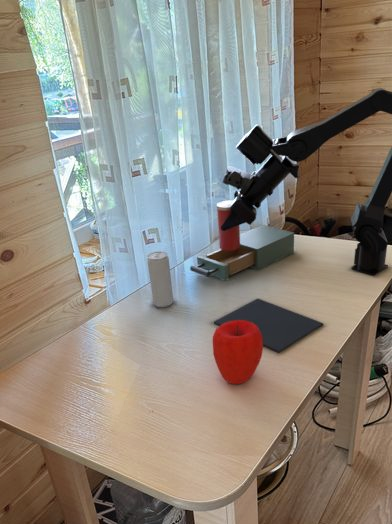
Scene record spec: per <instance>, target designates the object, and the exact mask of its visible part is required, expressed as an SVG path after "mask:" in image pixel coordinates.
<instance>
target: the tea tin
mask: <svg viewBox="0 0 392 524" xmlns="http://www.w3.org/2000/svg"><path fill="white" fill-rule="evenodd" d="M231 202H233V200H223V201H219V202H217V203H216V211H217V213H216V214H217V229H218V242H219V243H218V245H219V250H220V249H221V250H225V251H232V250H236V249H238V248H240V234H241V232H240V231H241V230H240V229H241V228H240V225H238V226H235V227H233V228H230V229H228V230H225V231H223V230H222V229H221V226H222V225H223V223H224V221H225V220H226V218H227V217H228V215H229V214H230V212H231V207H230V204H231Z"/></svg>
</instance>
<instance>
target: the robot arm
mask: <svg viewBox="0 0 392 524" xmlns="http://www.w3.org/2000/svg"><path fill="white" fill-rule="evenodd" d="M379 112H382V113H386V114H389V115H392V91H389V90H386V88H383V87H377V88H375V89H373V90H372V91H371V92H369V93H368V94H367V95H365V96H363V97H361V98H359V99H358V100H356V101H354V102H353V103H351V104H349V105H348V106H346V107H344V108H343V109H341V110H338V111H337V112H336V113H333V114H332V115H330V116H328V117H327V118H325V119H323V120H322V121H319V122H316V123H313V124H309V125H306V126H303V127H301V128H298V129H295V130H292V131H291V132H290V133H289V134H288V135H287V136H283V137H278V138H274V139H272V138H271V137H270V136H269V135H268V134H267V133H266V132H265V131H264V130H263V128H262V127H261V126H260V125H259V124H255V125H254V126H253V128H251V129H250V130H249V131H248V132H247V133H246V134H244V136H243V137H242V138H241V139H240V141H239V142H238V144H237V145H236V146H235V149H236V150H237V151H238V152H239V153H240V154H241V155H243V157H245V159H246V160H248V162H249V163H251V164H252V165H261V166H260V168H259V169H258V170H255V171H254V170H253V172H252V173H251V174H250V173H248V172H247V171H244V170H242V169H240V168H238V167H235V166H233V165H228V166H227V168H226V171H225V173H224V176H223V178H222V183H223V184H225V185H227V186H228V185H229V186H231V187H234V188H236V189H237V190H234V193H233V198H234V199H233V200H232V201H233V202H231V204H230V207H231V212H230V214H229V215H228V217H227V218H226V220H225V221H224V223H223V225H222V226H221V229H222V230H223V231H225V230H228V229H230V228H233V227H235V226H238V225H239V226H240V225H243V224H247V225H249V226H251V225H252V224H253V223H254V222H255V221H256V219H257V214H258V211H257V209H259V208H260V207H261V206H262V203H263V202H264V201H265V199H266V198H267V197H271V196H272V194H273V193H274V190H275V189H276V188H277V187H278V186H279V185H280V184H281V183H282V182H283V181H284V180H285V179H286V178H287V177H288V175H291V176H292V177H293V178H294V179H298V178H299V168H300V164H299V163H300V162H303V161H305V160H307V159H308V158H309V157H310V156H311V155H313V154H315V152H317V151H318V150H319V149H320V148H321V147H322V146H323V145H324V144H325V143H326V142H328V141H329V140H331V139H332V138H334V137H336V136H337V135H339V134H341V133H343V132H344V131H347V130H348V129H350V128H352V127H354V126H355V125H357V124H359V123H361V122H363V121H364V120H366V119H369V118H370V117H372V116H374V115H376V114H377V113H379ZM270 155H271V156H270ZM269 156H270V157H269ZM267 158H268V159H267ZM293 162H295V163H293ZM391 195H392V145H391V147H390V148H389V151H388V154H387V155H386V158H385V160H384V162H383V165H382V166H381V168H380V171H379V173H378V176H377V178H376V180H375V182H374V184H373V187H372V189H371V191H370V194H369V196H368V198H367V199H366V201H364V203H363V204H362V203H359V202H357V203H356V205H355V209H354V212H353V214H352V215H351V216H350V217H349V219H350V222H351V229H352V233H353V237H354V238H355V240H356V241H357V242H358V243H357V244H356V248H354V260H353V266H351V270H353V271H357V272H360V273H363V274H367V275H370V276H376V275H378V274H379V273H381V272H382V271H384V270H386V269H388V267H389V265H388V264H386V260H387V259H386V258H387V252H388V251H387V250H388V245H389V242H388V240H387V237H386V234H385V232H384V230H383V229H382V226H383V221H384V215H385V209H386V206H387V204H388V201H389V199H390V197H391Z"/></svg>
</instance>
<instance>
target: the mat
mask: <svg viewBox="0 0 392 524" xmlns="http://www.w3.org/2000/svg"><path fill="white" fill-rule="evenodd" d="M234 320H246V321H249V322H252V323H253V324H255V325H256V326H257V327H258V329H259V330H260V332H261V335H262V340H263V348H266V349H269V350H272V351H274V352H276V353H278V354H280V353H282V352H283V351H284V350H286V349H287V348H289V347H291V346H292V345H294V344H296V343H298V341H301V340H302V339H304V338H305V337H307V336H309V335H310V334H311V333H313V332H315V331H316V330H318V329H320V328H321V327H323V326H324V323H323V322H321V321H318V320H316V319H313V318H310V317H307V316H306V315H302V314H300V313H297V312H295V311H292V310H289V309H287V308H284V307H282V306H279V305H277V304H273V303H271V302H269V301H266V300H263V299H261V298H255V299H254V300H252V301H250V302H249V303H246V304H244V305H242V306H241V307H238V308H237V309H234V310H233V311H231V312H229V313H227V314H225V315H224V316H221V317H220V318H218V319H216V320H214V321H213V324H214V325H217V326H218V327H219V326H221V325H222V324H224V323H226V322H229V321H234Z"/></svg>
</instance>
